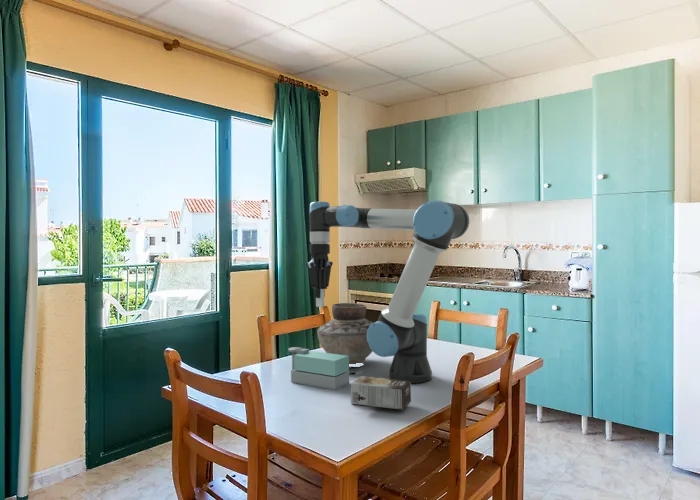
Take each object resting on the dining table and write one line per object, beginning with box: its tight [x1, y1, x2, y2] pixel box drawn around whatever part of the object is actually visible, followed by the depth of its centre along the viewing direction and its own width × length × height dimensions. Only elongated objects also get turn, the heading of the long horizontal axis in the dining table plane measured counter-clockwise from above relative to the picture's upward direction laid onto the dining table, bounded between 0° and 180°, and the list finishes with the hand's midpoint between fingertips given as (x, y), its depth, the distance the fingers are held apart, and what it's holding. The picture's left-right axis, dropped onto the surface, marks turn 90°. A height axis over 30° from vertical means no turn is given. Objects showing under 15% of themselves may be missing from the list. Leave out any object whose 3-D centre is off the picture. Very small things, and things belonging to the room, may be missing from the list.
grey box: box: [290, 352, 350, 390], centre depth 165 cm, size 21×9×10 cm, turn 59°
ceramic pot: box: [317, 302, 374, 366], centre depth 189 cm, size 25×25×24 cm
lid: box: [287, 346, 350, 376], centre depth 165 cm, size 22×9×6 cm, turn 58°
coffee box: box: [350, 375, 412, 411], centre depth 142 cm, size 9×6×16 cm
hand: (320, 306), depth 178 cm, fingers closed
